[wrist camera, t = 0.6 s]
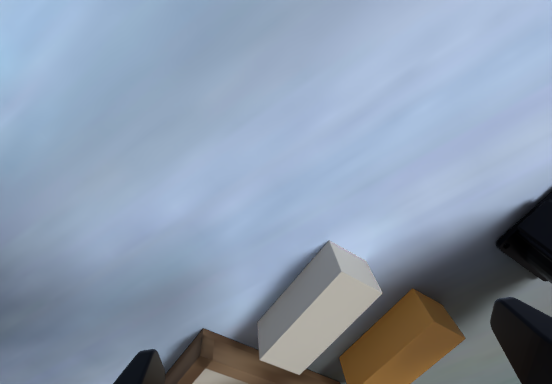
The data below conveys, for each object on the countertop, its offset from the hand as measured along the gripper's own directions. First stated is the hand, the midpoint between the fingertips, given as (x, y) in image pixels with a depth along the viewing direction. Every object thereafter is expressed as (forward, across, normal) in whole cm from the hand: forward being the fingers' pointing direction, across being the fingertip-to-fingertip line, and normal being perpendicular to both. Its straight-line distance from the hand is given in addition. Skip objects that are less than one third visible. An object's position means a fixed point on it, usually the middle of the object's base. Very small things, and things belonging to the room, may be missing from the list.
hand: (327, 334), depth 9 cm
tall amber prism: (+14, -7, +17) cm, 23 cm away
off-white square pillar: (+13, -1, +11) cm, 17 cm away
